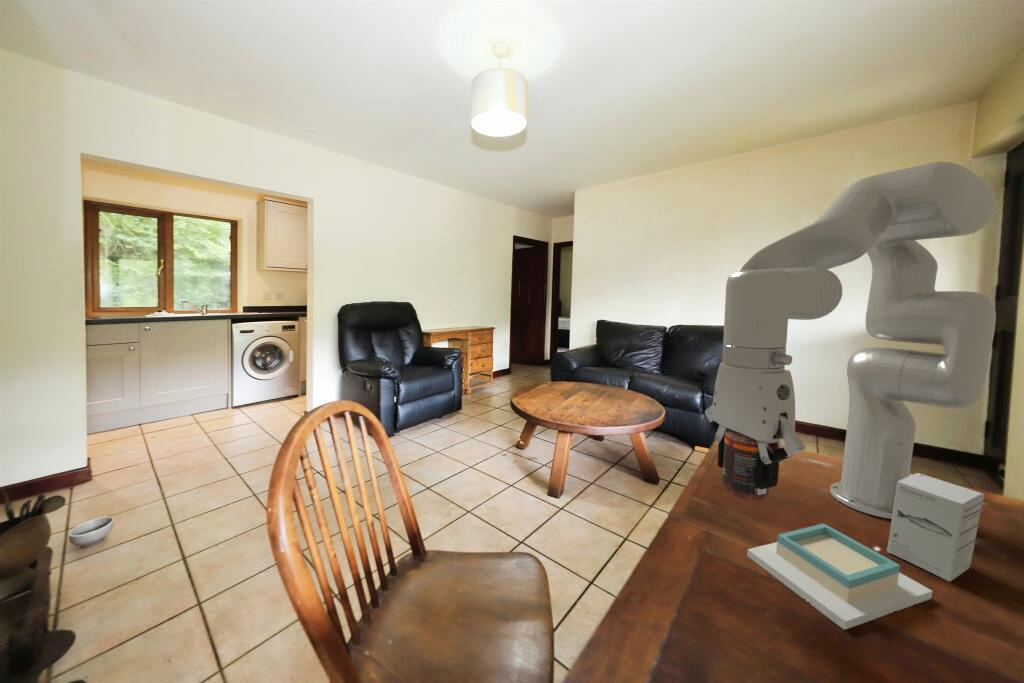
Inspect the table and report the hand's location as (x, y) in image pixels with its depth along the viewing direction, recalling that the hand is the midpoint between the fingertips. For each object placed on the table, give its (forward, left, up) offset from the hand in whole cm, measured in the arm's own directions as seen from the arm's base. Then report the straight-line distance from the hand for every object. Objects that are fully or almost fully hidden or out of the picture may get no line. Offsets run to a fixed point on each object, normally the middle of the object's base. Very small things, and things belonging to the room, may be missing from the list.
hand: (745, 474), depth 56 cm
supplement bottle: (0, 0, -3) cm, 3 cm away
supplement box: (-30, +7, -16) cm, 35 cm away
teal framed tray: (-12, +5, -16) cm, 21 cm away
